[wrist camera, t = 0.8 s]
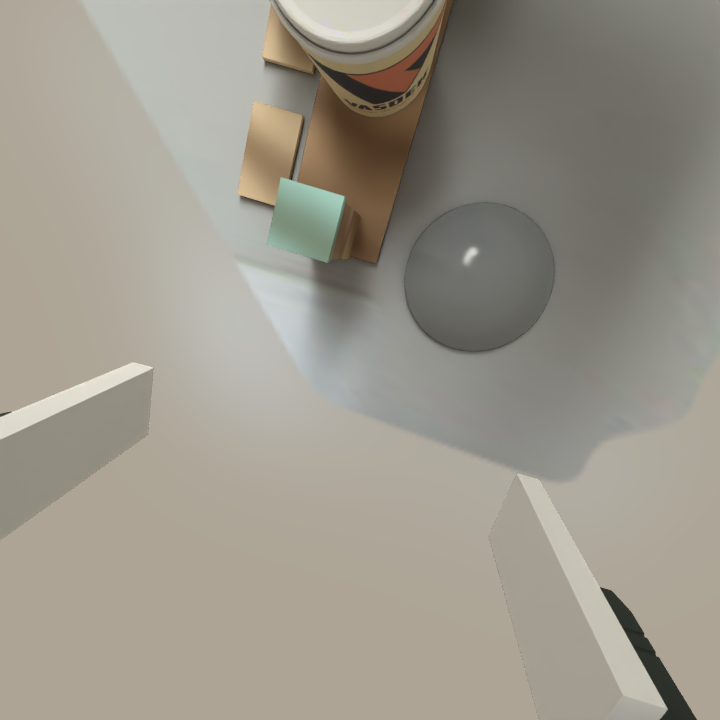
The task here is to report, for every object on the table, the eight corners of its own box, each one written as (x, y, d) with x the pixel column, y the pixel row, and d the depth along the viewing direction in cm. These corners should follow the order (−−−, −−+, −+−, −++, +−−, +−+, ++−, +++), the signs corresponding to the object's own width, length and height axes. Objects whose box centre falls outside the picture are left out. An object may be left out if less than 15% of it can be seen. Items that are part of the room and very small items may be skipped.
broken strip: (284, -52, 27) (222, -208, 18) (337, -37, 27) (302, -187, 18) (239, 195, 32) (173, 170, 23) (284, 208, 32) (236, 189, 23)
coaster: (431, 184, 30) (432, 183, 30) (578, 228, 30) (580, 227, 29) (386, 326, 33) (386, 327, 33) (517, 367, 33) (518, 368, 33)
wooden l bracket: (346, -34, 27) (312, -202, 17) (454, -3, 27) (483, -157, 17) (285, 241, 32) (233, 234, 22) (374, 268, 32) (361, 273, 22)
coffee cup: (338, 148, 30) (290, 85, 18) (299, 12, 27) (217, -157, 16) (457, 103, 28) (487, 0, 16) (425, -47, 25) (435, -289, 14)
